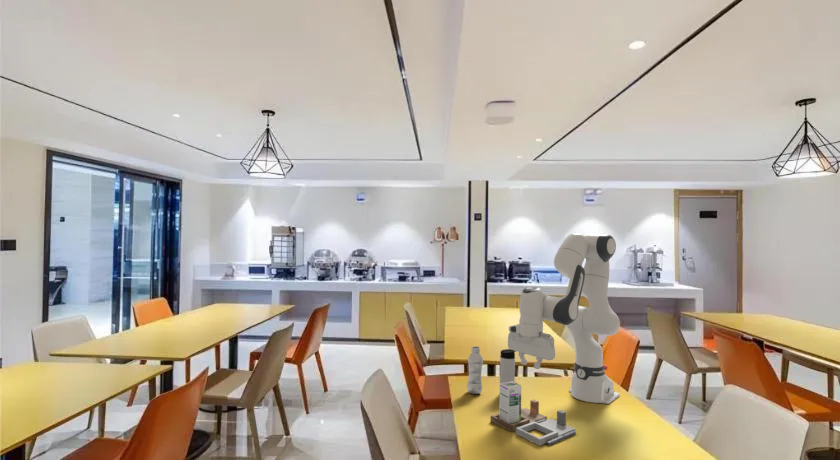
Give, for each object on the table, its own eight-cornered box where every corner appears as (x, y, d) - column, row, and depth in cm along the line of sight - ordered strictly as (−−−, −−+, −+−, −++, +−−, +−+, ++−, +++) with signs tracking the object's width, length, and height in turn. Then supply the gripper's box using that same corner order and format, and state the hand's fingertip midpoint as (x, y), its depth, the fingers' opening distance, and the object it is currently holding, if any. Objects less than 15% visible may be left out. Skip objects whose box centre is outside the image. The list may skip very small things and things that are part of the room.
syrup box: (508, 428, 146) (508, 387, 147) (498, 421, 152) (499, 382, 152) (521, 426, 149) (522, 385, 149) (511, 419, 154) (512, 380, 155)
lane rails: (519, 410, 163) (519, 407, 163) (575, 434, 143) (575, 431, 143) (492, 418, 154) (492, 416, 154) (549, 445, 134) (549, 442, 134)
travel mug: (515, 399, 175) (516, 351, 176) (499, 397, 176) (500, 350, 177) (514, 394, 181) (515, 348, 182) (499, 392, 182) (500, 347, 183)
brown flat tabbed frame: (525, 410, 163) (525, 396, 163) (546, 418, 155) (547, 404, 155) (490, 421, 151) (490, 406, 152) (511, 431, 143) (511, 416, 144)
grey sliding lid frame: (551, 420, 153) (551, 406, 154) (575, 431, 145) (575, 415, 145) (515, 433, 142) (516, 418, 142) (539, 445, 134) (540, 429, 134)
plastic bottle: (466, 390, 184) (468, 345, 185) (482, 391, 184) (483, 346, 184) (466, 395, 178) (467, 348, 179) (482, 396, 177) (483, 349, 178)
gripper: (559, 334, 151) (558, 372, 151) (516, 324, 168) (515, 359, 167) (548, 336, 148) (547, 375, 147) (505, 326, 164) (504, 361, 164)
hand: (530, 366), depth 157 cm, fingers open, 5 cm apart
